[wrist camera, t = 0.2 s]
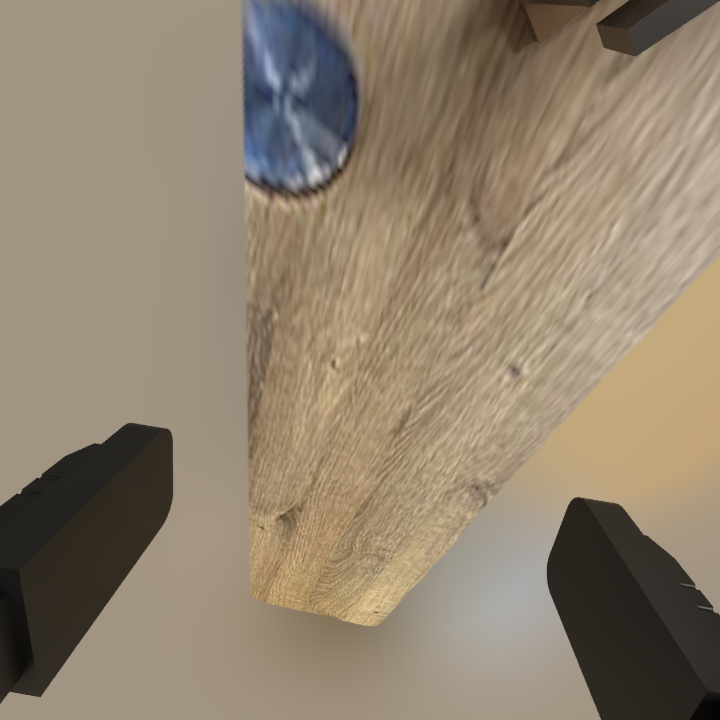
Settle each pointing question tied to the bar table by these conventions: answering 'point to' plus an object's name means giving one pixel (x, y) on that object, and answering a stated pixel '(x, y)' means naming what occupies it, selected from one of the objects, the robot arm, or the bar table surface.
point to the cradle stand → (617, 20)
